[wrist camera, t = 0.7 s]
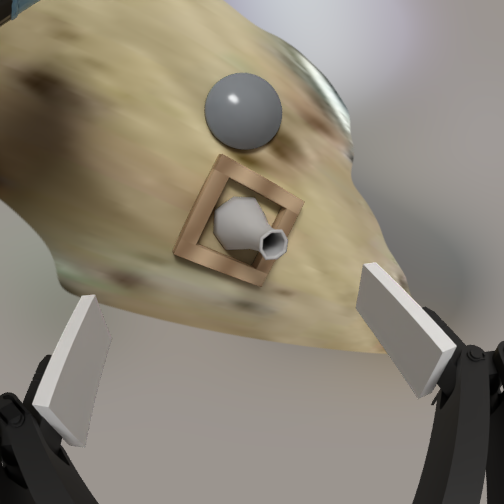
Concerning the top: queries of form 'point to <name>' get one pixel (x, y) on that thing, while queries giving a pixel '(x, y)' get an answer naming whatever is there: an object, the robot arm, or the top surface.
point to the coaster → (243, 111)
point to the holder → (204, 206)
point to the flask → (248, 228)
